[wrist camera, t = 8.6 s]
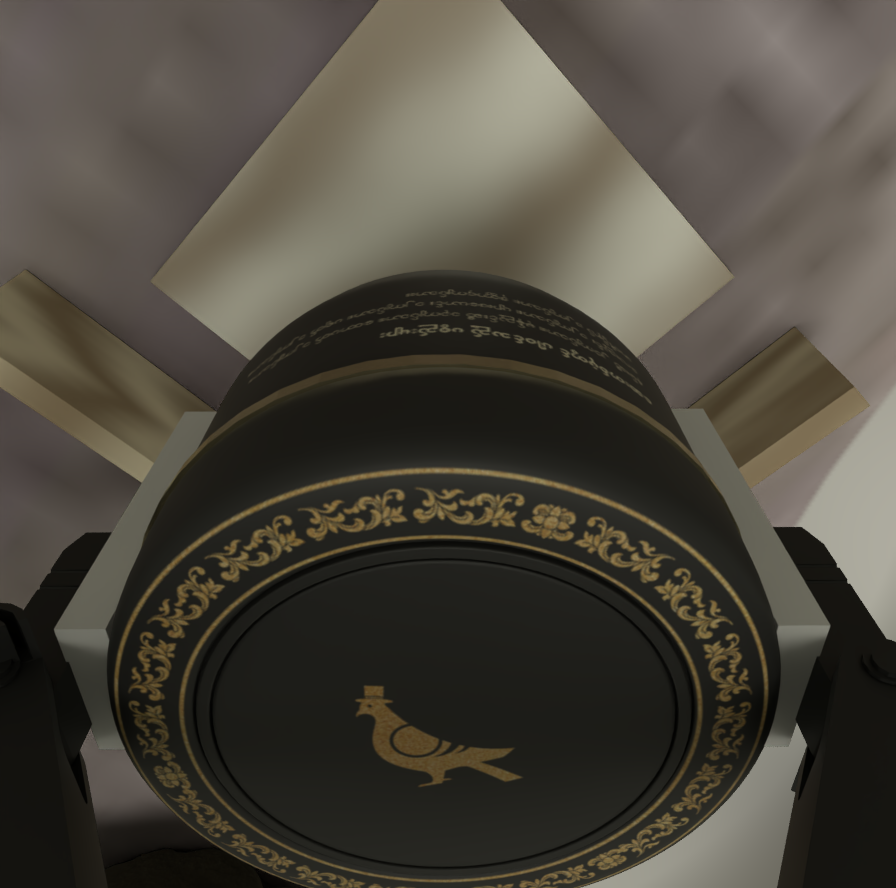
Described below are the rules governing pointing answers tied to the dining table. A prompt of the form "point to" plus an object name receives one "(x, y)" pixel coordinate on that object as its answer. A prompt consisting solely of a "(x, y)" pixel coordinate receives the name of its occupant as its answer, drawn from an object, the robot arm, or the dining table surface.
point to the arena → (421, 236)
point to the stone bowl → (183, 871)
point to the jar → (443, 604)
